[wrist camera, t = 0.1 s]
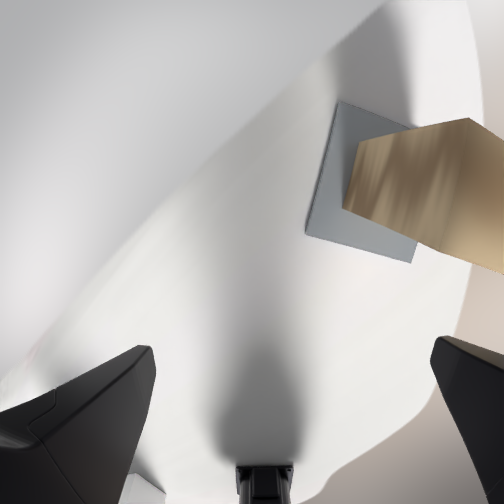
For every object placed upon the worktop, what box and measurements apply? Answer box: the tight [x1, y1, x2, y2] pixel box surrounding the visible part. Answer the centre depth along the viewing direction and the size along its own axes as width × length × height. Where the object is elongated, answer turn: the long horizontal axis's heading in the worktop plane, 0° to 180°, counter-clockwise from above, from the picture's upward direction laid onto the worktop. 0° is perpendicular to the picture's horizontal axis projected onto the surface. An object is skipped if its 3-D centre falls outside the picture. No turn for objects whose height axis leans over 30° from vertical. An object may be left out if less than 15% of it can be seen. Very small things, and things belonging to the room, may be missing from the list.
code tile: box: [305, 102, 418, 263], centre depth 21 cm, size 10×9×1 cm
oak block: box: [342, 118, 504, 275], centre depth 15 cm, size 5×5×12 cm
